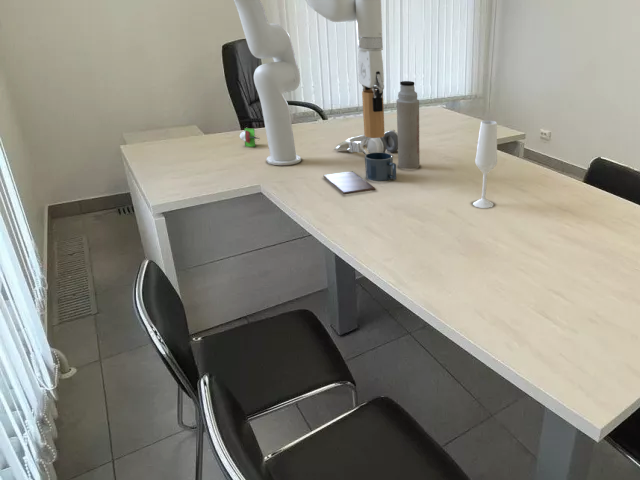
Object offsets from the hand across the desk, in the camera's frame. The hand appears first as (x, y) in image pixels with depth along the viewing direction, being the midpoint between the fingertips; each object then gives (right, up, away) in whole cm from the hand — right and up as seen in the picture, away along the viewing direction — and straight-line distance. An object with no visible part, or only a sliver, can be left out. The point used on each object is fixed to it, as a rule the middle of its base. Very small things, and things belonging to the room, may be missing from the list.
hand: (373, 108), depth 174 cm
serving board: (-10, -22, +8) cm, 25 cm away
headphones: (-7, +6, +42) cm, 43 cm away
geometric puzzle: (-56, +8, +43) cm, 71 cm away
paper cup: (0, -6, +5) cm, 8 cm away
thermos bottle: (+10, -8, +26) cm, 29 cm away
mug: (+2, -18, +14) cm, 22 cm away
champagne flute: (+36, -33, -3) cm, 49 cm away
